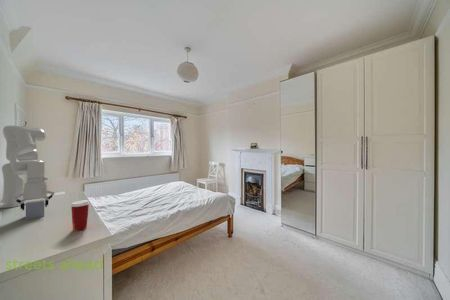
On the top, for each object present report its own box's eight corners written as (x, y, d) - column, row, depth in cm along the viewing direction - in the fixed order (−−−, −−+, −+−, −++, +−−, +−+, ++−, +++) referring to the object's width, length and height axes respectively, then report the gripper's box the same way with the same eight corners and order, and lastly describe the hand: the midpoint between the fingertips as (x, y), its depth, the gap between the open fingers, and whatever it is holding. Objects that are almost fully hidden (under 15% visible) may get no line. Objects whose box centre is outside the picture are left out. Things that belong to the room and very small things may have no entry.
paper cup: (92, 226, 96) (93, 200, 96) (79, 232, 88) (80, 204, 89) (79, 225, 97) (80, 199, 97) (65, 231, 89) (66, 203, 89)
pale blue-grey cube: (26, 216, 109) (26, 202, 110) (43, 213, 115) (44, 199, 115) (25, 219, 104) (25, 204, 104) (44, 216, 110) (44, 202, 110)
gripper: (54, 178, 119) (53, 203, 119) (14, 181, 106) (13, 209, 106) (55, 179, 114) (54, 206, 114) (13, 183, 101) (12, 213, 101)
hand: (34, 208), depth 110 cm, fingers open, 9 cm apart
